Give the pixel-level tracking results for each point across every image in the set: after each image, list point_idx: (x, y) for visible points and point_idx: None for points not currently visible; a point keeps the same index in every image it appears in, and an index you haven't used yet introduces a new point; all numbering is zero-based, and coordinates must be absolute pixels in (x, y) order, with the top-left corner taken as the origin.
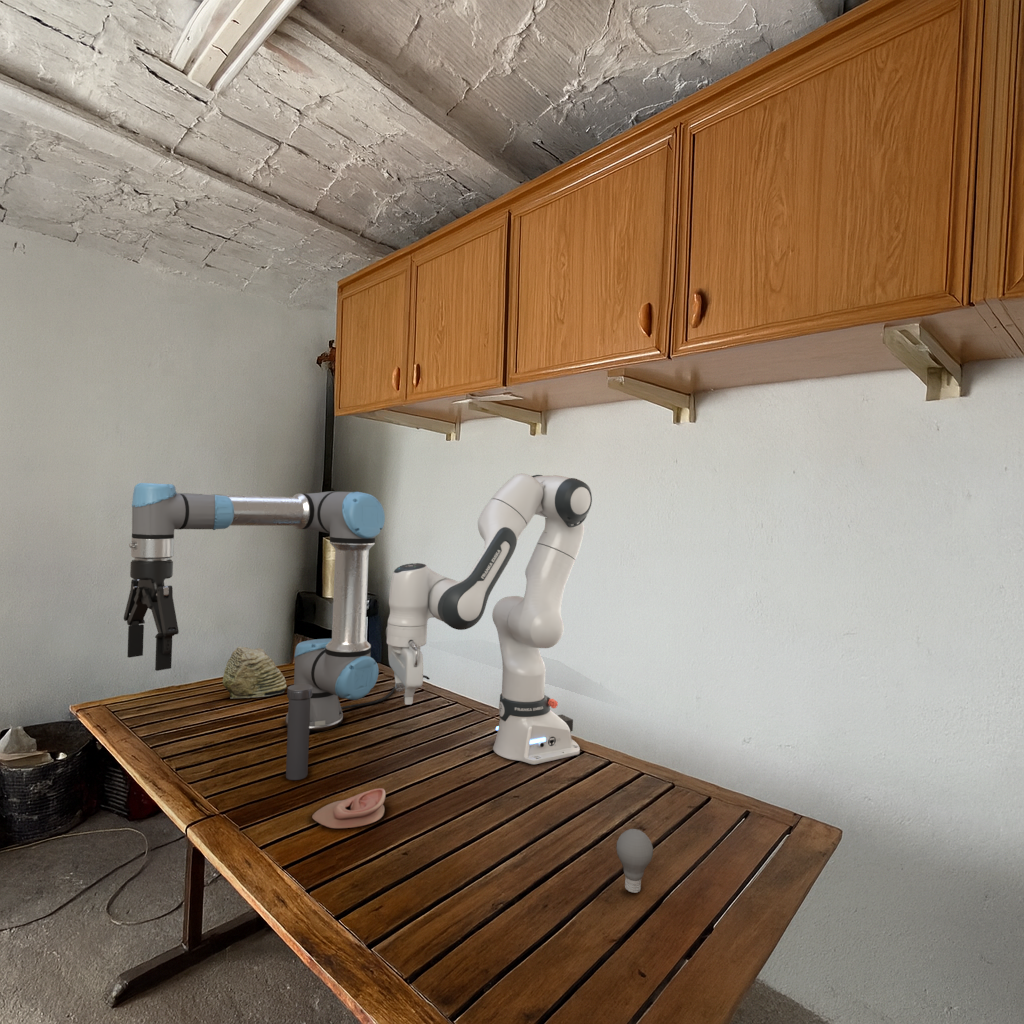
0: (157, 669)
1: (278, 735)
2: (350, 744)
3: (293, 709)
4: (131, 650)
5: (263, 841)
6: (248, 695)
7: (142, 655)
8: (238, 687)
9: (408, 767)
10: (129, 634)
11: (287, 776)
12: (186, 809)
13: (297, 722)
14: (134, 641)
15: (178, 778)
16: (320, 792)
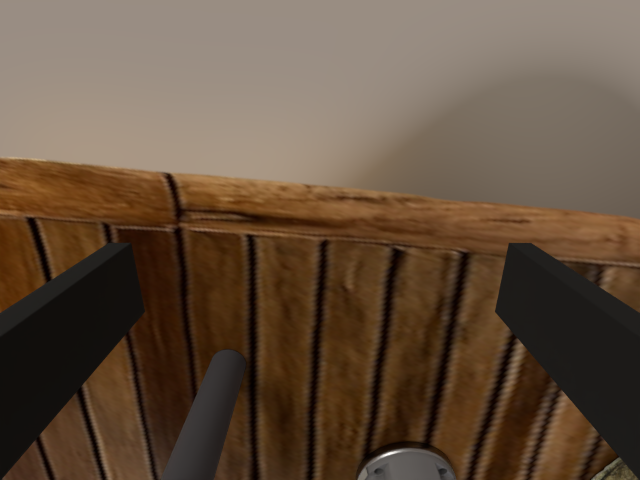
0: (105, 248)
1: (400, 418)
2: (280, 464)
3: (174, 460)
4: (528, 273)
5: (48, 230)
6: (610, 471)
7: (496, 310)
8: (633, 476)
9: (149, 468)
10: (628, 326)
11: (226, 351)
12: (228, 195)
13: (179, 438)
14: (563, 322)
15: (357, 236)
16: (150, 357)
